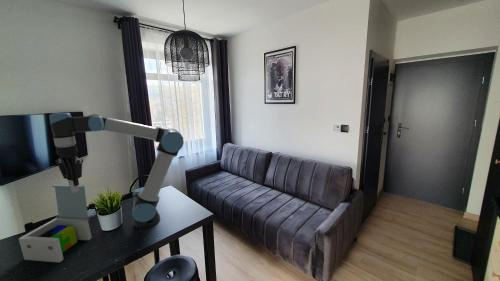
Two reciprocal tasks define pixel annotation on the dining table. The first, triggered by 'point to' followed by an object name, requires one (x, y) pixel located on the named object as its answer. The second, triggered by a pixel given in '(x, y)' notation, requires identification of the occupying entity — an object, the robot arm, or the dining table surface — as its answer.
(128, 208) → the dining table surface
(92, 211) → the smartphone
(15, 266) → the dining table surface
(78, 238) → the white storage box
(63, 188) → the lid
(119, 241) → the dining table surface
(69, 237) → the puzzle toy
